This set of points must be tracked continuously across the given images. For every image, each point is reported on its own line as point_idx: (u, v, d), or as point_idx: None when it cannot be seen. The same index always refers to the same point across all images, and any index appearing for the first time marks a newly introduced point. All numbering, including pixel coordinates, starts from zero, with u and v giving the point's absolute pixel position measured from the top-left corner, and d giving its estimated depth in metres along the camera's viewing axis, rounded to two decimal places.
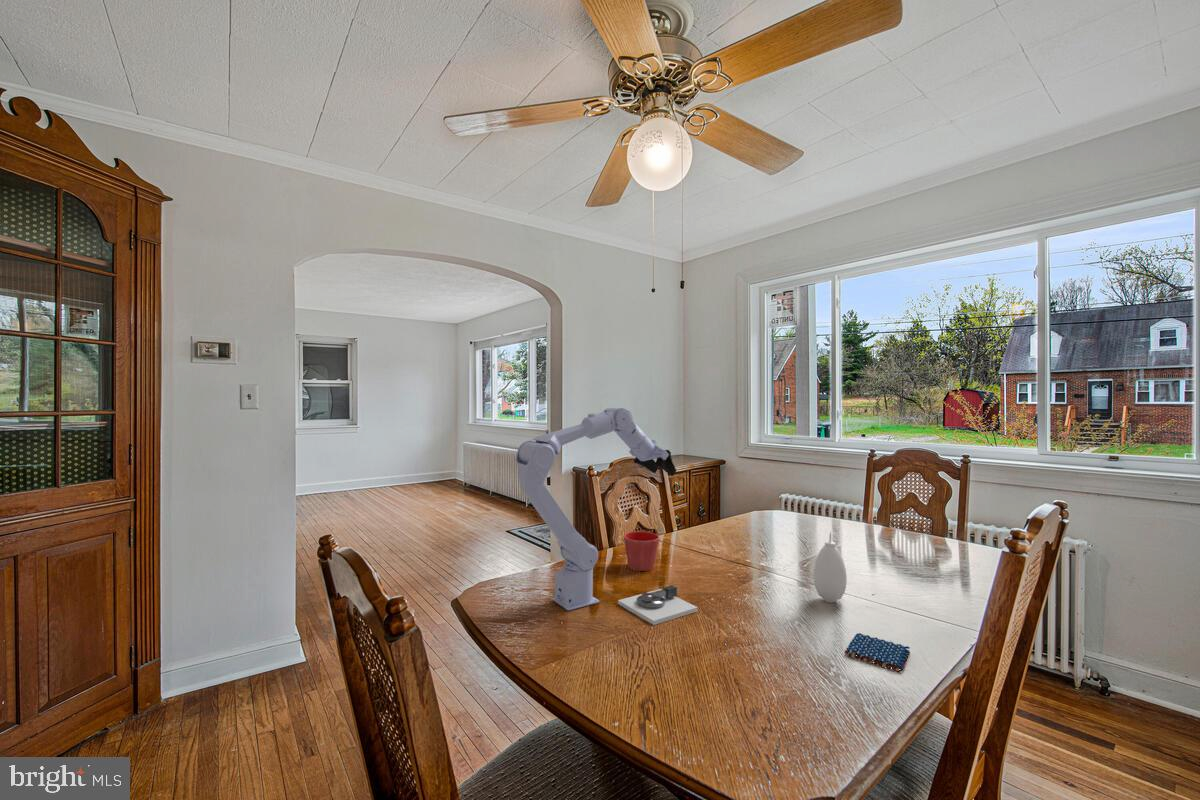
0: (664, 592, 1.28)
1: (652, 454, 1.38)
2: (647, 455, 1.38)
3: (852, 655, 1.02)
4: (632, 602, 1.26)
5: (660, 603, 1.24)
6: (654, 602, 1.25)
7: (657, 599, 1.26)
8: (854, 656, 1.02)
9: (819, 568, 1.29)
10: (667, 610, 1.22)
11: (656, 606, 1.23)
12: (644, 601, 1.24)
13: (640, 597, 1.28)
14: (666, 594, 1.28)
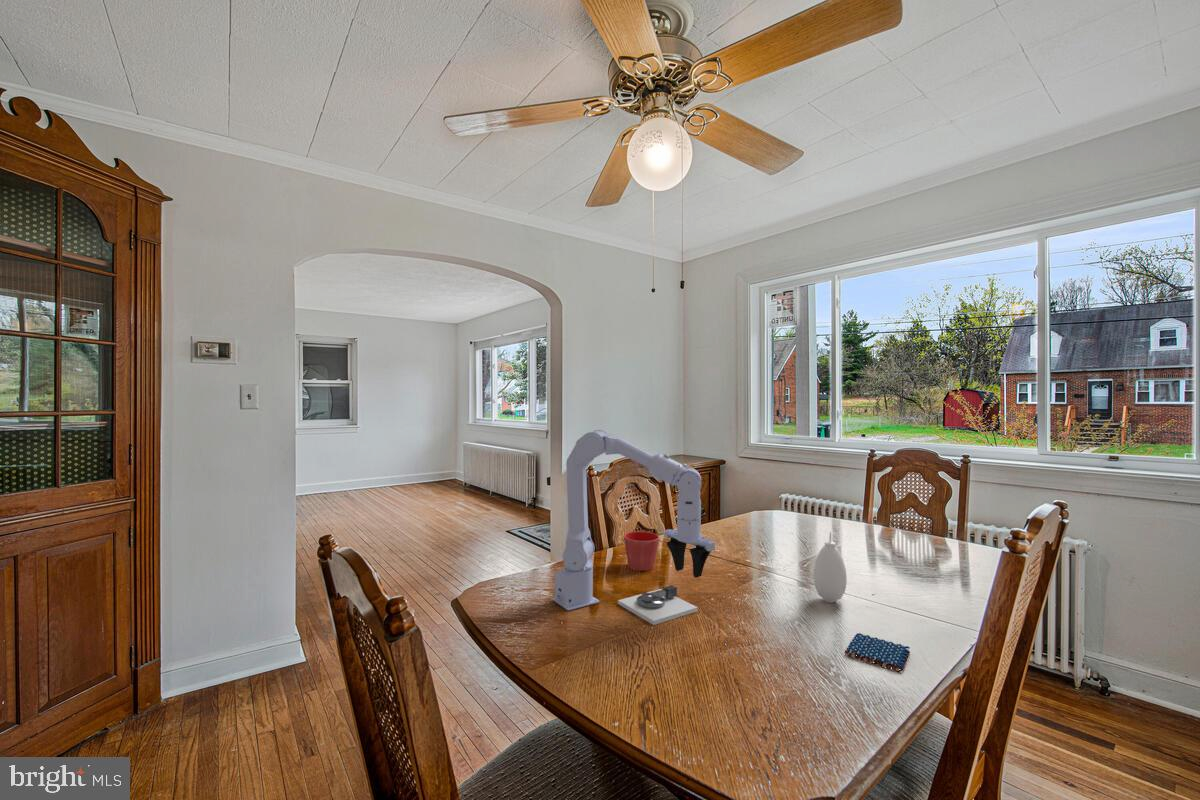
0: (664, 592, 1.28)
1: (696, 540, 1.21)
2: (691, 537, 1.21)
3: (852, 655, 1.02)
4: (632, 602, 1.26)
5: (660, 603, 1.24)
6: (654, 602, 1.25)
7: (657, 599, 1.26)
8: (854, 656, 1.02)
9: (819, 568, 1.29)
10: (667, 610, 1.22)
11: (656, 606, 1.23)
12: (644, 601, 1.24)
13: (640, 597, 1.28)
14: (666, 594, 1.28)
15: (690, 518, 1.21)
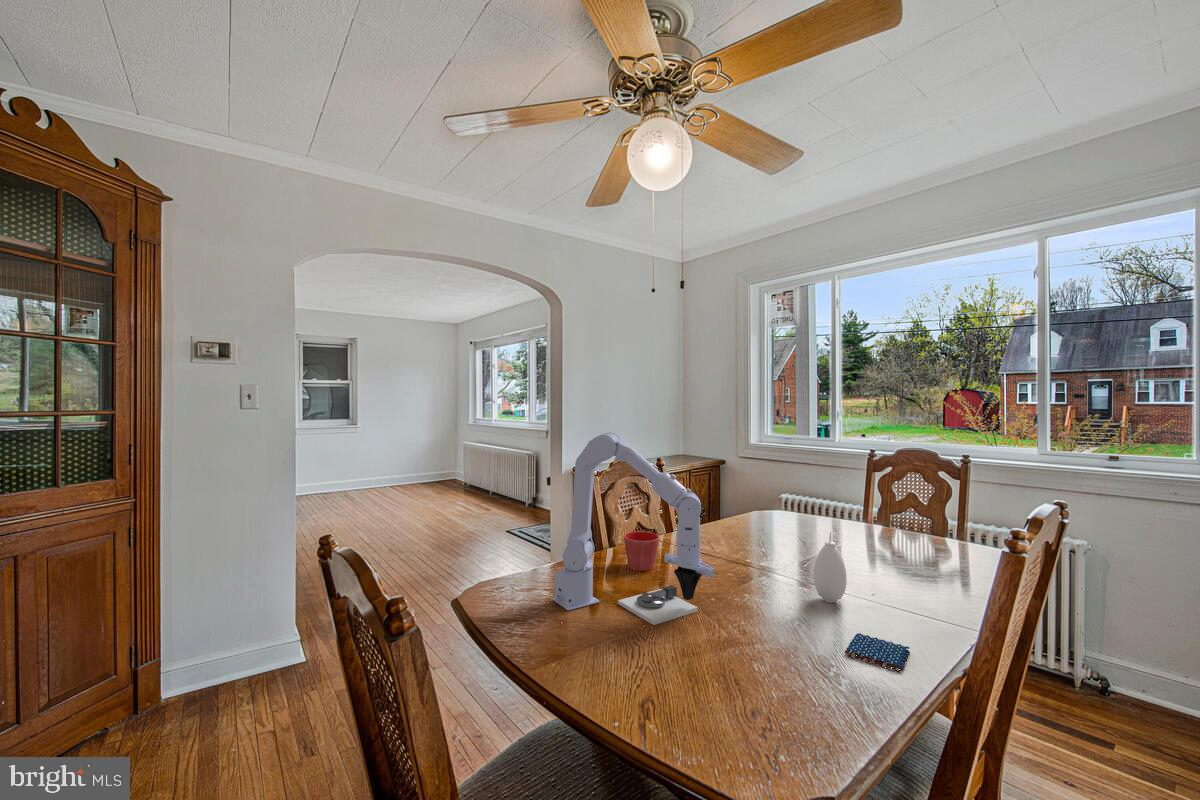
0: (664, 592, 1.28)
1: (696, 566, 1.21)
2: (691, 563, 1.21)
3: (852, 655, 1.02)
4: (632, 602, 1.26)
5: (660, 603, 1.24)
6: (654, 602, 1.25)
7: (657, 599, 1.26)
8: (854, 656, 1.02)
9: (819, 568, 1.29)
10: (667, 610, 1.22)
11: (656, 606, 1.23)
12: (644, 601, 1.24)
13: (640, 597, 1.28)
14: (666, 594, 1.28)
15: (690, 544, 1.21)
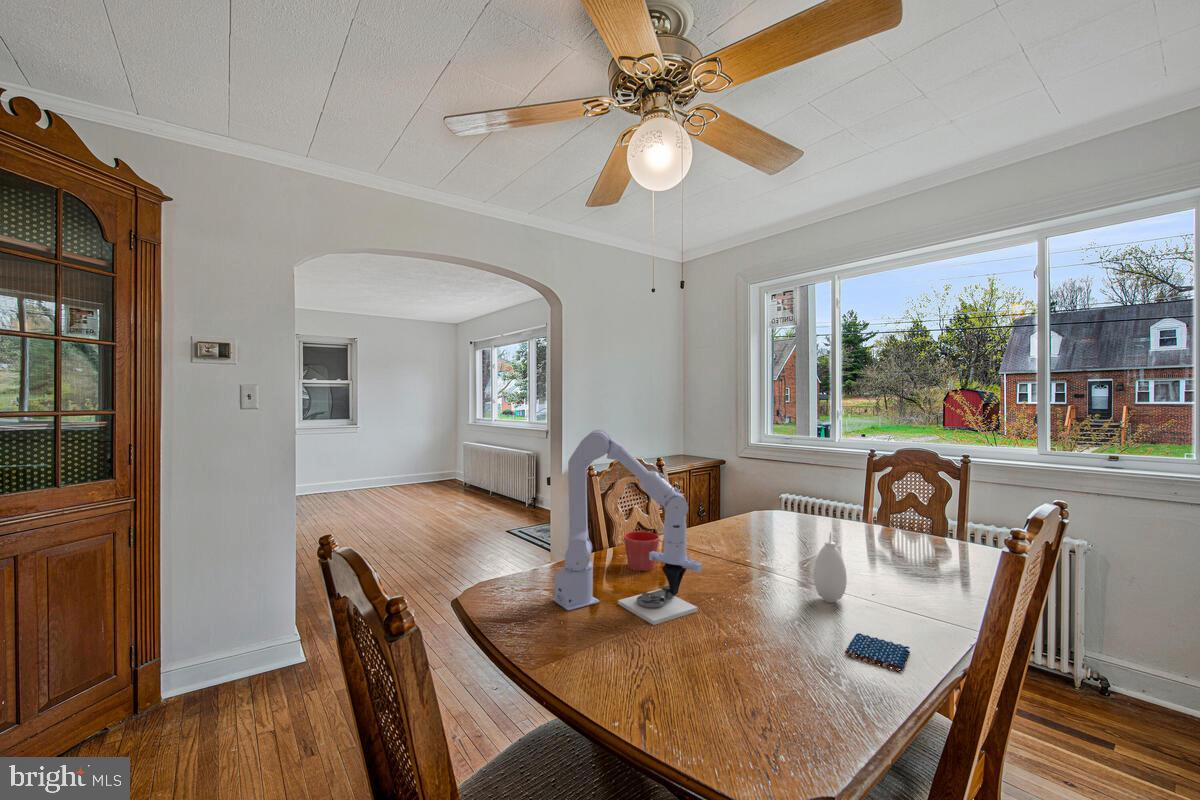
0: (664, 592, 1.28)
1: (683, 562, 1.26)
2: (679, 559, 1.25)
3: (852, 655, 1.02)
4: (632, 602, 1.26)
5: (660, 602, 1.24)
6: (654, 602, 1.25)
7: (657, 599, 1.26)
8: (854, 656, 1.02)
9: (819, 568, 1.29)
10: (667, 610, 1.22)
11: (656, 606, 1.23)
12: (644, 601, 1.24)
13: (640, 597, 1.28)
14: (666, 594, 1.28)
15: (677, 541, 1.25)
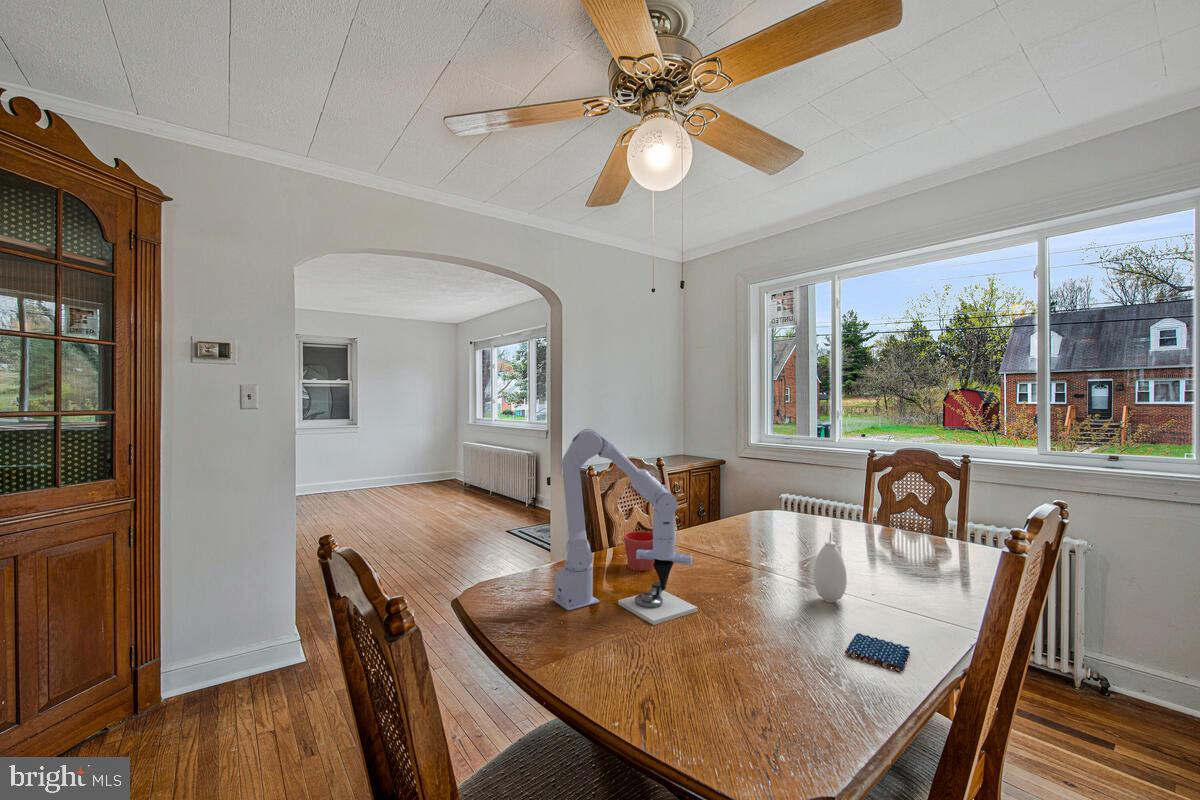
0: (656, 589, 1.30)
1: (674, 556, 1.30)
2: (671, 555, 1.29)
3: (852, 655, 1.02)
4: (632, 602, 1.26)
5: (660, 600, 1.26)
6: (654, 600, 1.26)
7: (653, 597, 1.27)
8: (854, 656, 1.02)
9: (819, 568, 1.29)
10: (667, 610, 1.22)
11: (660, 604, 1.24)
12: (647, 601, 1.24)
13: (636, 598, 1.27)
14: (657, 591, 1.30)
15: (668, 537, 1.29)
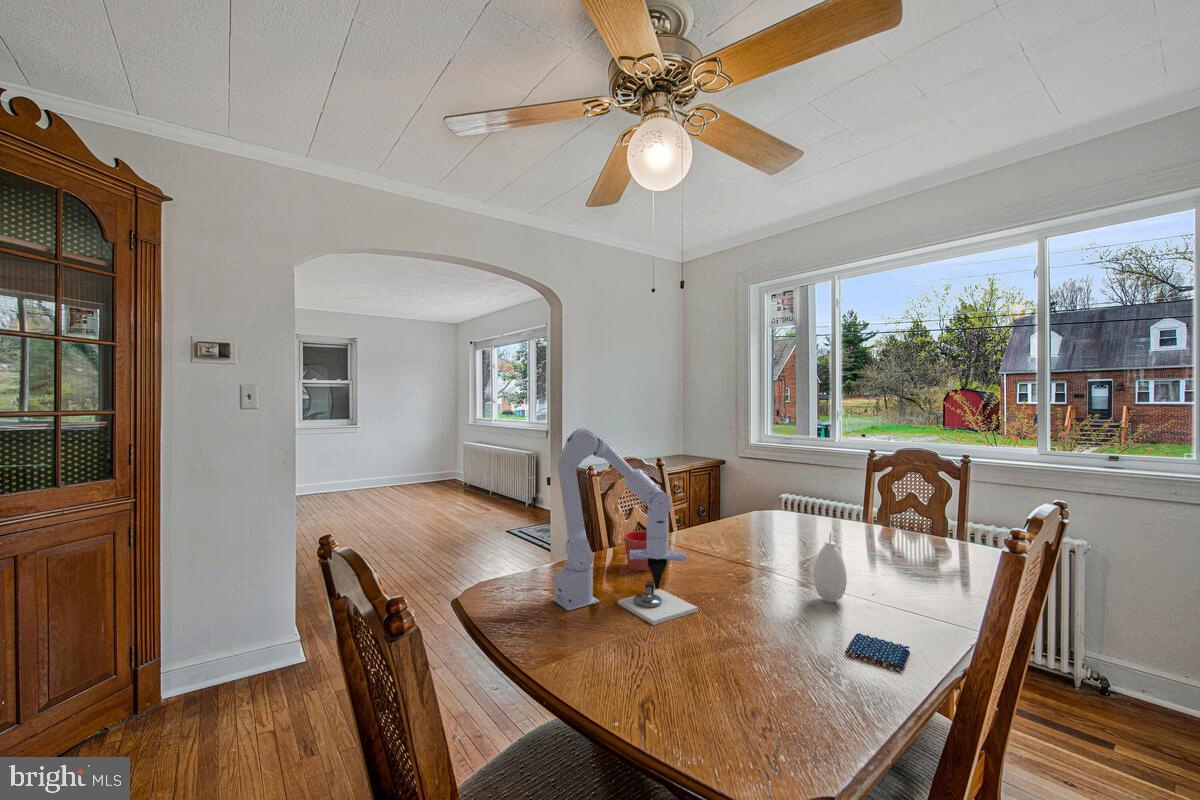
0: (651, 588, 1.30)
1: (669, 555, 1.31)
2: (666, 553, 1.30)
3: (852, 655, 1.02)
4: (632, 602, 1.26)
5: (658, 598, 1.27)
6: (654, 599, 1.26)
7: None
8: (854, 656, 1.02)
9: (819, 568, 1.29)
10: (667, 610, 1.22)
11: (660, 602, 1.25)
12: (648, 601, 1.24)
13: (636, 599, 1.26)
14: (652, 590, 1.31)
15: (662, 536, 1.30)
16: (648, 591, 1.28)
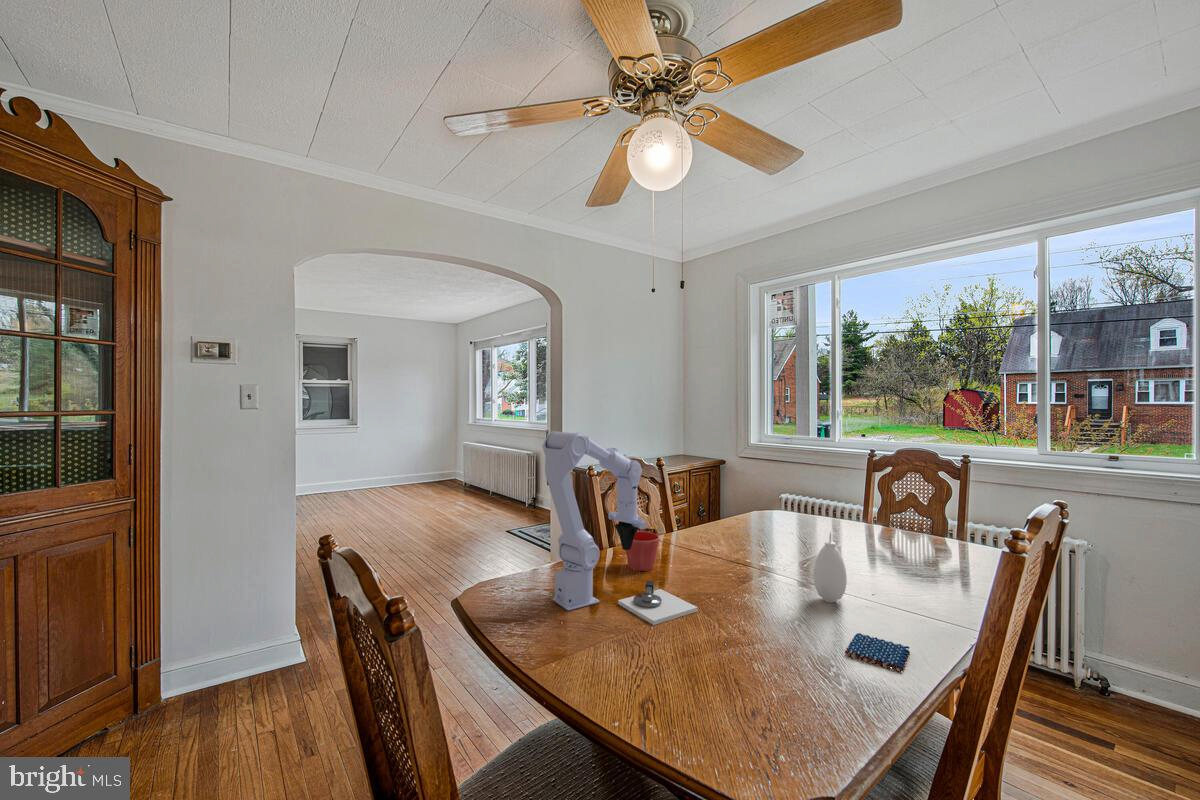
0: (651, 588, 1.30)
1: (632, 520, 1.40)
2: (627, 517, 1.40)
3: (852, 655, 1.02)
4: (632, 602, 1.26)
5: (658, 598, 1.27)
6: (654, 599, 1.26)
7: None
8: (854, 656, 1.02)
9: (819, 568, 1.29)
10: (667, 610, 1.22)
11: (660, 602, 1.25)
12: (648, 601, 1.24)
13: (636, 599, 1.26)
14: (652, 590, 1.31)
15: (635, 500, 1.41)
16: (648, 591, 1.28)
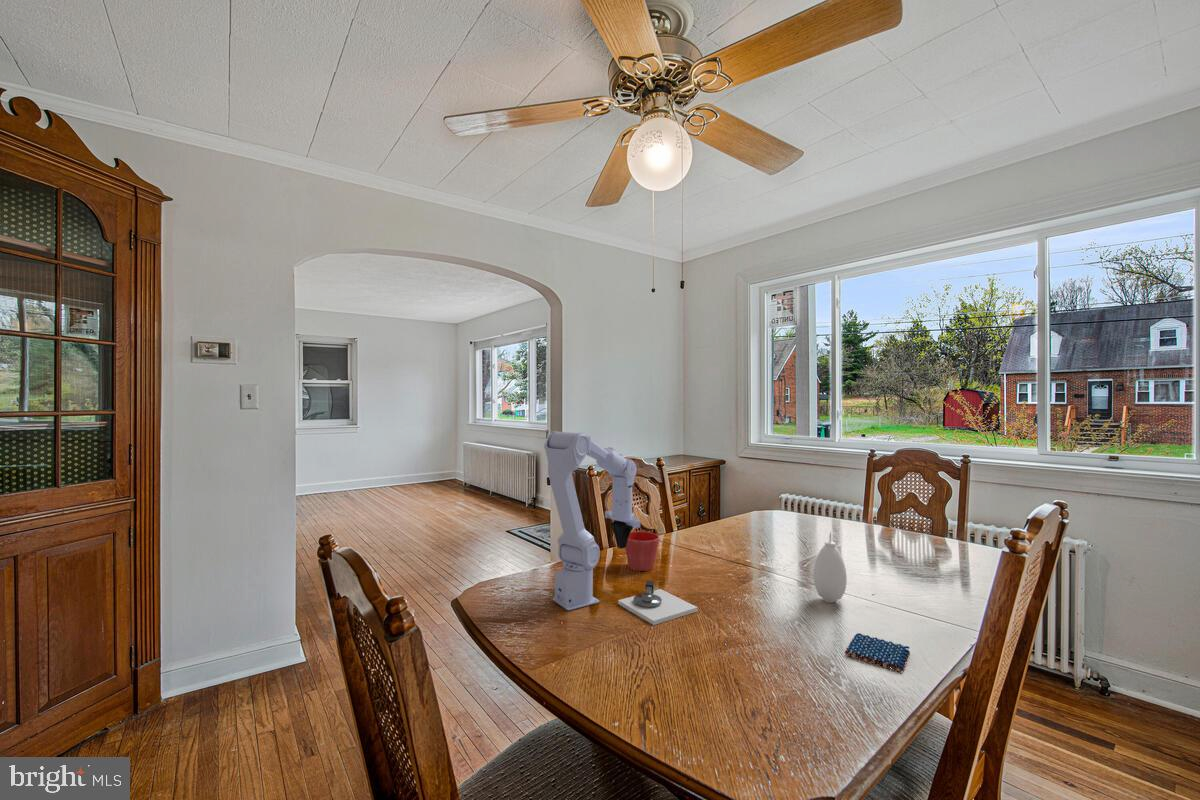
0: (651, 588, 1.30)
1: (626, 519, 1.41)
2: (622, 516, 1.41)
3: (852, 655, 1.02)
4: (632, 602, 1.26)
5: (658, 598, 1.27)
6: (654, 599, 1.26)
7: None
8: (854, 656, 1.02)
9: (819, 568, 1.29)
10: (667, 610, 1.22)
11: (660, 602, 1.25)
12: (648, 601, 1.24)
13: (636, 599, 1.26)
14: (652, 590, 1.31)
15: (631, 499, 1.43)
16: (648, 591, 1.28)
